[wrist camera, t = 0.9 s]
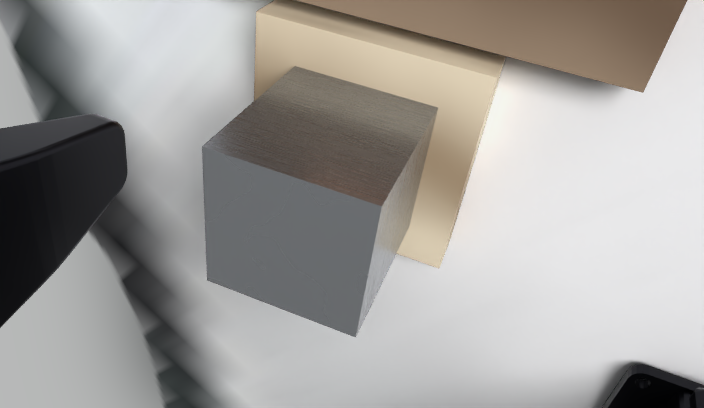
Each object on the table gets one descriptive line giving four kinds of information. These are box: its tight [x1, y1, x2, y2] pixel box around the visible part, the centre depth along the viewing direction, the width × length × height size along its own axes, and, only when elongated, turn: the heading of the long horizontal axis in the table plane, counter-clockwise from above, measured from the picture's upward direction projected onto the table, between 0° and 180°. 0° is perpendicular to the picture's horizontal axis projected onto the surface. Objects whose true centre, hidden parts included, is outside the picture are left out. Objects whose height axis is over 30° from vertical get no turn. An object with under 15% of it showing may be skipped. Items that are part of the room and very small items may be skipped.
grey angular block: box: [202, 66, 438, 337], centre depth 16 cm, size 4×4×5 cm
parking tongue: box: [254, 0, 506, 268], centre depth 19 cm, size 7×7×2 cm
